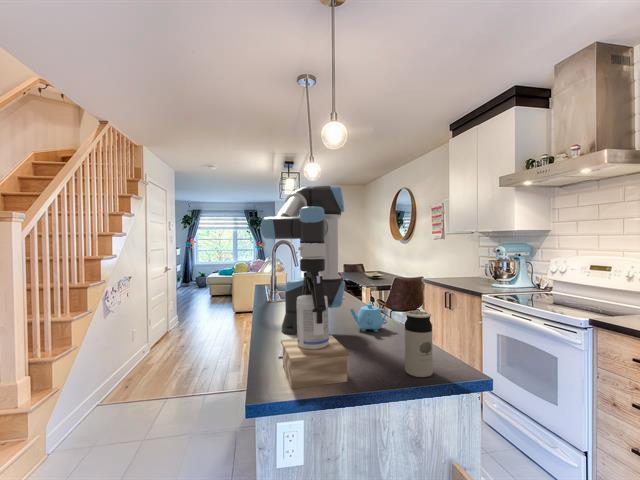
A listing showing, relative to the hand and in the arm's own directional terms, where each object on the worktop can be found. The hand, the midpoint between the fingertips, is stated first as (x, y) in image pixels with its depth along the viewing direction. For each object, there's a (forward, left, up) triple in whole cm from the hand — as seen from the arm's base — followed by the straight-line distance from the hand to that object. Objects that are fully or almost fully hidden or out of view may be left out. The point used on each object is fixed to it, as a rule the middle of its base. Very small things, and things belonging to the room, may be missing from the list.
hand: (312, 328), depth 97 cm
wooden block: (0, 0, -14) cm, 14 cm away
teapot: (-41, +36, -14) cm, 56 cm away
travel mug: (+8, +31, -14) cm, 35 cm away
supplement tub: (0, 0, -5) cm, 5 cm away
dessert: (-20, -1, -14) cm, 25 cm away
